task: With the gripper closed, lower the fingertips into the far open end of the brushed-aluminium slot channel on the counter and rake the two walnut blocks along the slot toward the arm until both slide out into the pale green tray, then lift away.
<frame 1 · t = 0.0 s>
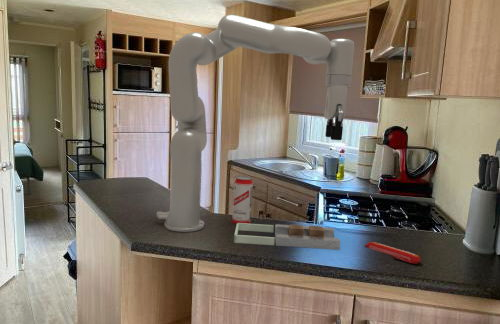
hand: (333, 138, 121), 31 cm above the counter, tool pointing down, fingers open, 9 cm apart
tray: (254, 240, 118), on the counter
slot channel: (305, 243, 118), on the counter
beer can: (241, 225, 133), on the counter
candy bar: (391, 258, 112), on the counter
walnut block far: (315, 241, 118), point 1 cm above the counter, touching slot channel
walnut block near: (295, 239, 118), point 1 cm above the counter, touching slot channel
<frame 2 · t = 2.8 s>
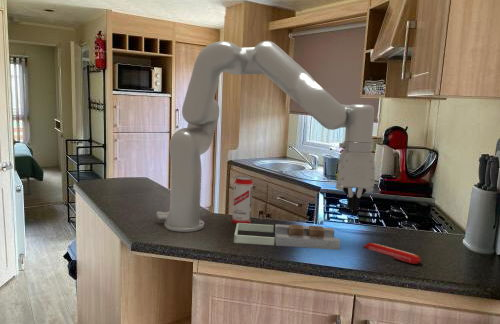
hand: (352, 209, 116), 11 cm above the counter, tool pointing down, fingers closed
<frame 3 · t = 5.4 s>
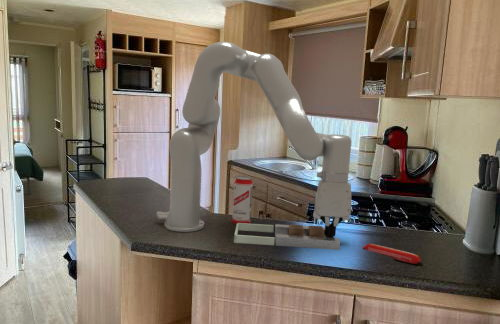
hand: (329, 237, 117), 2 cm above the counter, tool pointing down, fingers closed
walnut block far: (315, 240, 118), point 1 cm above the counter, touching gripper, slot channel
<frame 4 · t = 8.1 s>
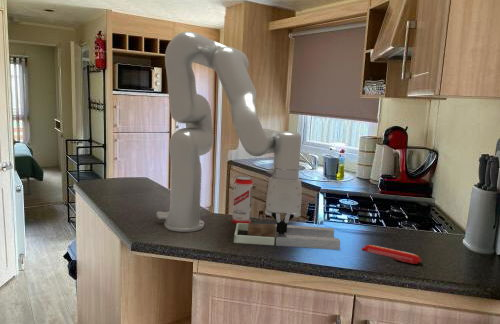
hand: (281, 234, 118), 2 cm above the counter, tool pointing down, fingers closed
walnut block far: (267, 239, 118), point 1 cm above the counter, touching gripper, walnut block near
walnut block near: (254, 238, 118), point 1 cm above the counter, touching walnut block far
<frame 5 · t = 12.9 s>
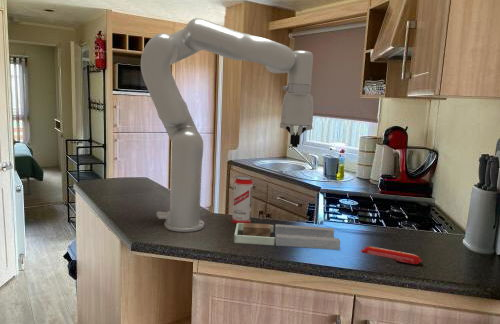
hand: (294, 146, 130), 27 cm above the counter, tool pointing down, fingers closed
walnut block far: (263, 238, 118), point 1 cm above the counter, touching tray, walnut block near
walnut block near: (249, 238, 118), point 1 cm above the counter, touching tray, walnut block far
at the end: walnut block far inside the target area on the tray (2.1 cm from its centre), point 0.6 cm above the tray's base; walnut block near inside the target area on the tray (1.9 cm from its centre), point 0.6 cm above the tray's base; walnut block near touching tray, walnut block far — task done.
